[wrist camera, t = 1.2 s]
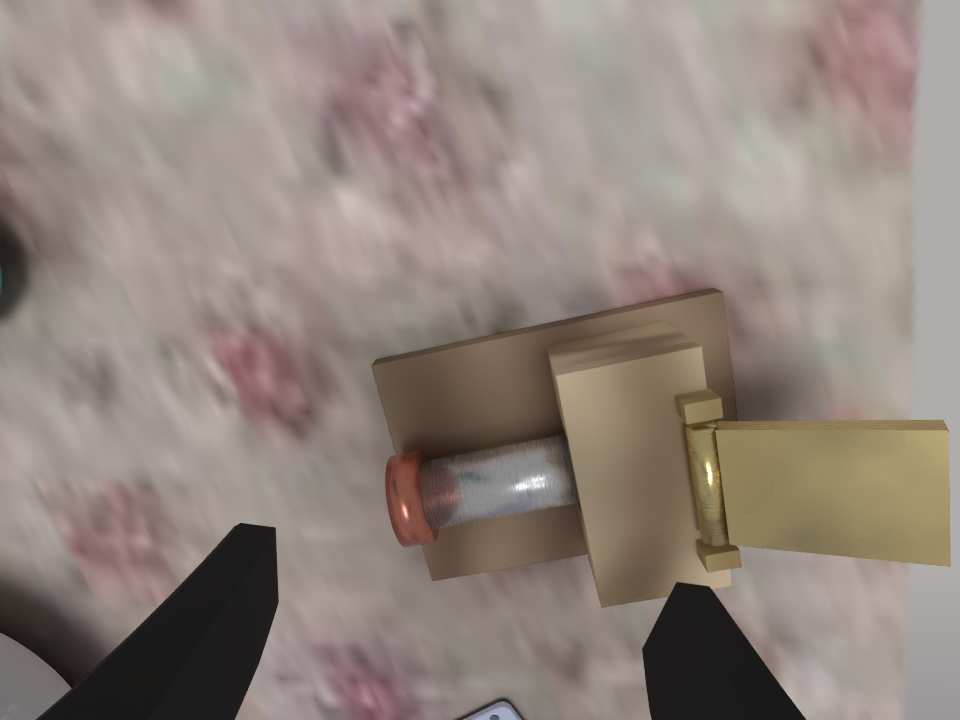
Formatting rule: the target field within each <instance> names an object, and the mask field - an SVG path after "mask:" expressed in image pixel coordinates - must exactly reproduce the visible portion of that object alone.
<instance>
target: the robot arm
mask: <svg viewBox="0 0 960 720" xmlns="http://www.w3.org/2000/svg"><path fill="white" fill-rule="evenodd" d="M278 603H279V601H278V576H277V552H276V528H274V527H267V526H259V525H252V524H245V523H240V524H238V525H236V526H235V527H234V528H233V529H232V530H231V531H230V532H229V533H228V534H227V535H226V537H225V538H224V539H223V540H222V541H221V542H220V543H219V544H218V545H217V547H216V548H215V549H214V550H213V551H212V552H211V553H210V554H209V555H208V556H207V557H206V558H205V560H204V561H203V562H202V563H201V564H200V565H199V566H198V567H197V568H196V569H195V570H194V571H193V572H192V573H191V574H190V575H189V576H188V578H187V579H186V580H185V581H184V582H183V583H182V584H181V585H180V586H179V587H178V588H177V589H176V590H175V591H174V592H173V593H172V594H171V595H170V596H169V597H168V598H167V599H166V600H165V601H164V602H163V603H162V604H161V605H160V606H159V607H158V608H157V609H156V610H155V611H154V612H153V613H152V614H151V615H150V616H149V617H148V618H147V619H146V620H145V621H144V622H143V623H142V624H141V625H140V626H139V627H138V628H137V629H136V630H135V631H134V632H133V633H132V634H130V635H129V636H128V637H127V638H126V639H125V640H124V641H123V642H122V643H121V644H120V645H119V646H118V647H117V648H116V649H114V650H113V651H112V652H111V653H110V654H109V655H108V656H107V657H106V658H105V659H103V660H102V661H101V662H100V663H99V664H98V665H97V666H96V667H95V668H94V669H93V670H91V671H90V672H89V673H88V674H87V675H86V676H85V677H84V678H83V679H82V680H80V681H79V682H78V683H77V684H76V685H75V686H74V687H73V688H72V689H71V690H69V691H68V692H67V693H66V694H65V695H64V696H63V697H61V698H60V699H59V700H58V701H57V702H56V703H54V704H53V705H52V706H51V707H50V708H49V709H47V710H46V711H45V712H44V713H43V714H42V715H40V716H39V717H38V718H37V719H36V720H235V718H236V715H237V713H238V711H239V708H240V706H241V704H242V702H243V699H244V697H245V695H246V692H247V690H248V688H249V685H250V683H251V681H252V678H253V676H254V674H255V671H256V669H257V667H258V664H259V662H260V659H261V656H262V653H263V650H264V647H265V644H266V641H267V638H268V635H269V631H270V628H271V625H272V622H273V619H274V615H275V612H276V609H277V606H278ZM642 651H643V660H644V669H645V678H646V686H647V694H648V701H649V709H650V714H651V718H652V720H806V719H805V717H804V716H803V715H802V714H801V712H800V711H799V710H798V708H797V707H796V706H795V704H794V703H793V702H792V700H791V699H790V698H789V696H788V695H787V694H786V692H785V691H784V690H783V688H782V687H781V685H780V684H779V683H778V681H777V680H776V679H775V677H774V676H773V675H772V673H771V672H770V670H769V669H768V668H767V666H766V665H765V664H764V662H763V661H762V659H761V658H760V657H759V655H758V654H757V652H756V651H755V650H754V648H753V647H752V645H751V644H750V643H749V641H748V640H747V638H746V637H745V636H744V634H743V633H742V631H741V630H740V629H739V627H738V626H737V624H736V623H735V621H734V620H733V619H732V617H731V616H730V614H729V613H728V612H727V610H726V609H725V607H724V606H723V605H722V603H721V602H720V600H719V599H718V598H717V596H716V595H715V593H714V592H713V591H712V589H711V588H710V587H709V586H704V585H697V584H689V583H682V582H676V584H675V586H674V588H673V590H672V592H671V594H670V596H669V598H668V600H667V602H666V603H665V605H664V607H663V609H662V611H661V613H660V615H659V617H658V619H657V621H656V623H655V625H654V627H653V629H652V631H651V633H650V635H649V637H648V639H647V641H646V643H645V645H644V647H643V649H642ZM492 715H497V716H492ZM463 720H522V719H521V718H520V717H519V716H518V714H517V713H516V712H515V710H514V709H513V708H512V706H511V705H510V704H509V703H507V702H498V703H496V704H494V705H492V706H490V707H488V708H486V709H484V710H481V711H479V712H477V713H475V714H473V715H471V716H469V717H467V718H465V719H463Z"/></svg>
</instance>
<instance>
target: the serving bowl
mask: <svg viewBox="0 0 960 720" xmlns="http://www.w3.org/2000/svg"><path fill="white" fill-rule="evenodd" d="M71 689H72V688H71V687H70V686H69V685H68V684H67V683H66V681H65V680H64V679H63V678H62V677H61V676H60V675H59V674H58V673H57V672H56V671H55V670H54V669H53V668H52V667H51V666H49V665H48V664H47V663H46V662H44V661H43V660H42V659H41V658H39V657H38V656H37V655H36V654H34V653H33V652H31V651H30V650H28V649H27V648H26V647H24V646H23V645H21V644H19V643H18V642H16V641H15V640H13V639H11V638H9V637H7V636H5V635H4V634H2V633H0V720H36V719H37V718H38V717H39V716H40V715H42V714H43V713H44V712H45V711H46V710H47V709H49V708H50V707H51V706H52V705H53V704H54V703H56V702H57V701H58V700H59V699H60V698H61V697H63V696H64V695H65V694H66V693H67V692H68V691H69V690H71Z"/></svg>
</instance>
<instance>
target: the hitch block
mask: <svg viewBox="0 0 960 720" xmlns="http://www.w3.org/2000/svg"><path fill="white" fill-rule="evenodd" d="M371 367H372V370H373V374H374V377H375V381H376V384H377V388H378V391H379V395H380V398H381V402H382V405H383V409H384V413H385V416H386V420H387V423H388V427H389V430H390V434H391V437H392V441H393V444H394V448H395V451H396V455H398V454H403V453H408V452H413V451H418V450H421V451H423V452H424V454H425V455H426V457H427V459H428V461H429V460H434V459H439V458H445V457H450V456H455V455H460V454H465V453H470V452H476V451H481V450H486V449H491V448H496V447H501V446H507V445H512V444H517V443H522V442H527V441H532V440H538V439H543V438H548V437H553V436H558V435H563V434H566V437H567V440H568V445H569V450H570V455H571V460H572V465H573V470H574V476H575V481H576V486H577V491H578V496H579V501H580V503H575V504H570V505H564V506H559V507H553V508H548V509H542V510H537V511H531V512H526V513H520V514H515V515H509V516H504V517H498V518H493V519H487V520H482V521H476V522H471V523H465V524H460V525H454V526H449V527H443V528H439V534H438V538H437V540H436V541H435V542H432V543H426V544H422V547H423V550H424V554H425V557H426V561H427V564H428V568H429V571H430V575H431V578H432V581H436V580H442V579H448V578H453V577H459V576H465V575H471V574H476V573H482V572H488V571H494V570H499V569H505V568H511V567H517V566H522V565H528V564H534V563H539V562H545V561H551V560H557V559H562V558H568V557H574V556H580V555H585V554H588V557H589V561H590V565H591V569H592V573H593V577H594V580H595V584H596V588H597V592H598V596H599V600H600V604H601V608H602V607H608V606H614V605H620V604H626V603H632V602H638V601H644V600H651V599H657V598H663V597H669V596H670V594H671V592H672V590H673V588H674V586H675V584H676V582H682V583H689V584H697V585H704V586H709V587H710V588H711V589H717V588H723V587H729V586H732V581H731V574H730V569H733V568H739V567H741V559H740V550H739V549H738V547H737V546H735V545H730V543H727V544H725V545H722V546H711V545H708V544H706V543H704V542H703V541H702V540H701V535H700V528H699V521H698V514H697V507H696V500H695V493H694V485H693V478H692V471H691V464H690V457H689V450H688V443H687V436H686V428H685V426H686V424H692V423H697V422H703V421H708V420H711V421H714V422H715V423H716V424H717V423H718V421H738V420H737V411H736V402H735V393H734V385H733V376H732V367H731V359H730V350H729V341H728V332H727V324H726V315H725V306H724V298H723V291H720V290H717V289H714V288H713V289H708V290H703V291H698V292H694V293H689V294H684V295H679V296H675V297H670V298H665V299H661V300H656V301H651V302H646V303H642V304H637V305H632V306H628V307H623V308H618V309H613V310H609V311H604V312H599V313H594V314H590V315H585V316H580V317H576V318H571V319H566V320H561V321H557V322H552V323H547V324H543V325H538V326H533V327H528V328H524V329H519V330H514V331H509V332H505V333H500V334H495V335H491V336H486V337H481V338H476V339H472V340H467V341H462V342H458V343H453V344H448V345H443V346H439V347H434V348H429V349H424V350H420V351H415V352H410V353H406V354H401V355H396V356H391V357H387V358H382V359H377V360H376V361H375V362H374V363H373V364H372V365H371Z"/></svg>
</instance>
